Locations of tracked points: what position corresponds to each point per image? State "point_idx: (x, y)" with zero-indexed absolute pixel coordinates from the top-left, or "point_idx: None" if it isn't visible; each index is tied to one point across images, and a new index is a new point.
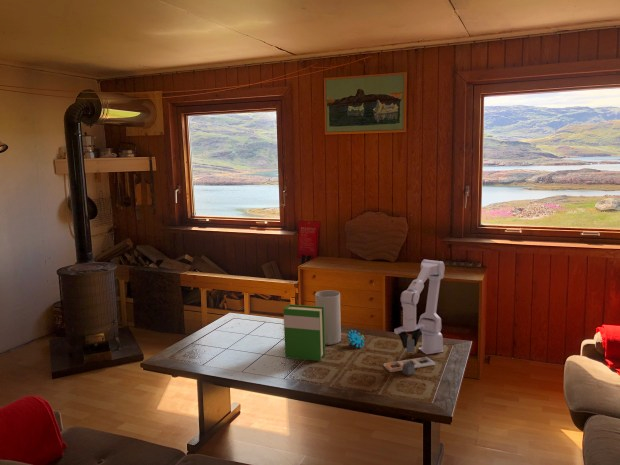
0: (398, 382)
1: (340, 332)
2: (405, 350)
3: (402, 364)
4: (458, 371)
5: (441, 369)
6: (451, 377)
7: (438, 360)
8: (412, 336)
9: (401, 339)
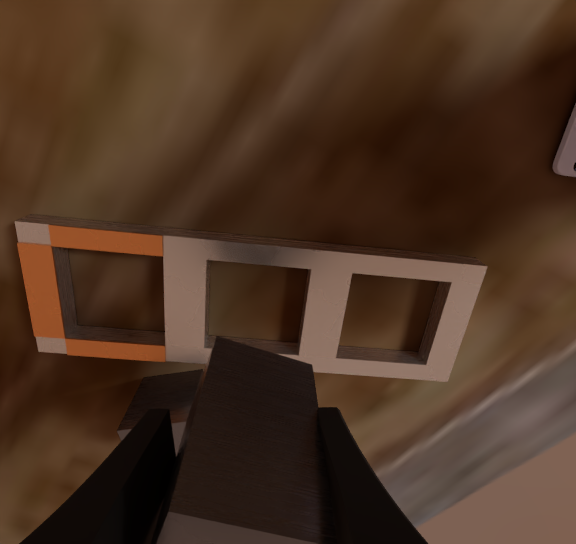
0: (55, 467)
1: None
2: (206, 365)
3: (182, 310)
4: (484, 483)
5: (420, 432)
6: None
7: (527, 315)
8: (347, 532)
9: (62, 526)
